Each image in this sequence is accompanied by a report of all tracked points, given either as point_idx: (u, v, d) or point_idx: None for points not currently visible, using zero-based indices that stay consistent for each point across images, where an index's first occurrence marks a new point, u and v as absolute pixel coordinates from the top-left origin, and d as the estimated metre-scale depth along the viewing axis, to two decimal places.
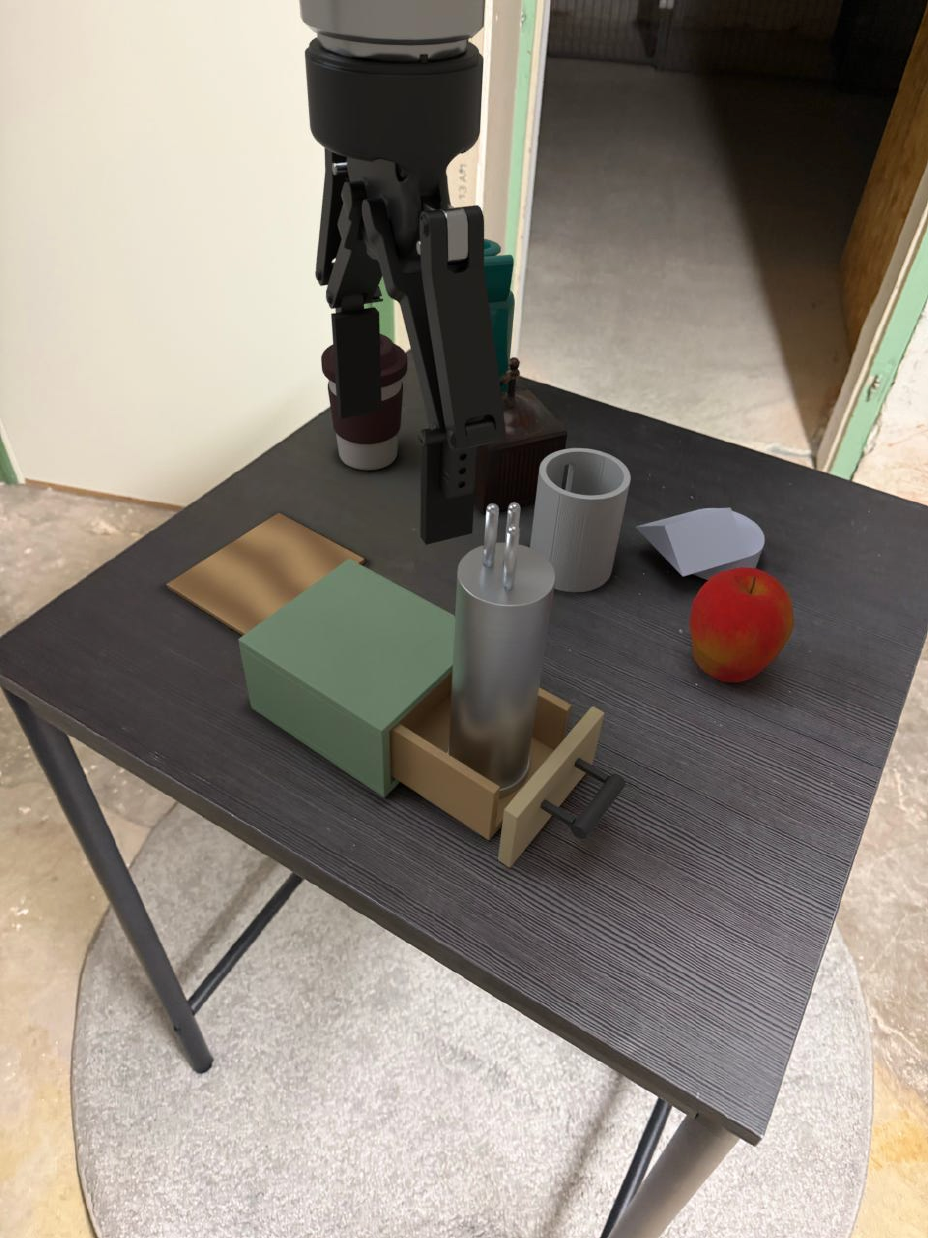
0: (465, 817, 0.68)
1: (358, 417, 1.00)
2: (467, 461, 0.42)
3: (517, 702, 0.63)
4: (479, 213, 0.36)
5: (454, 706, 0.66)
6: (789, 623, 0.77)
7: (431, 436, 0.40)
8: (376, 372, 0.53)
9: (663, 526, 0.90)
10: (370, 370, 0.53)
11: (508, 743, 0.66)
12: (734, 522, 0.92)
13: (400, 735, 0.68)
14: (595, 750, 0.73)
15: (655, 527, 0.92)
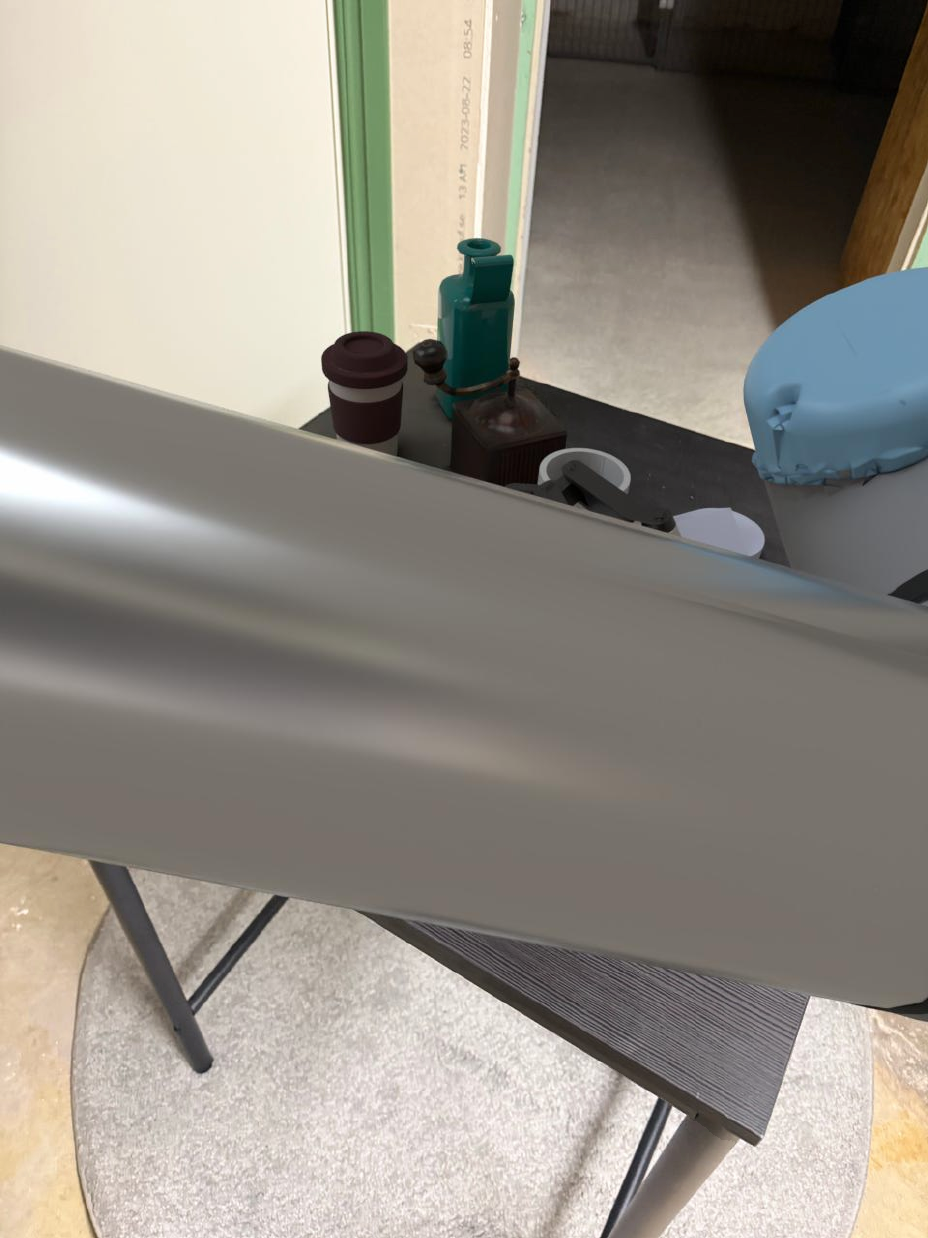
0: None
1: (358, 417, 1.00)
2: None
3: None
4: None
5: None
6: None
7: None
8: None
9: None
10: None
11: None
12: (734, 522, 0.92)
13: None
14: None
15: None
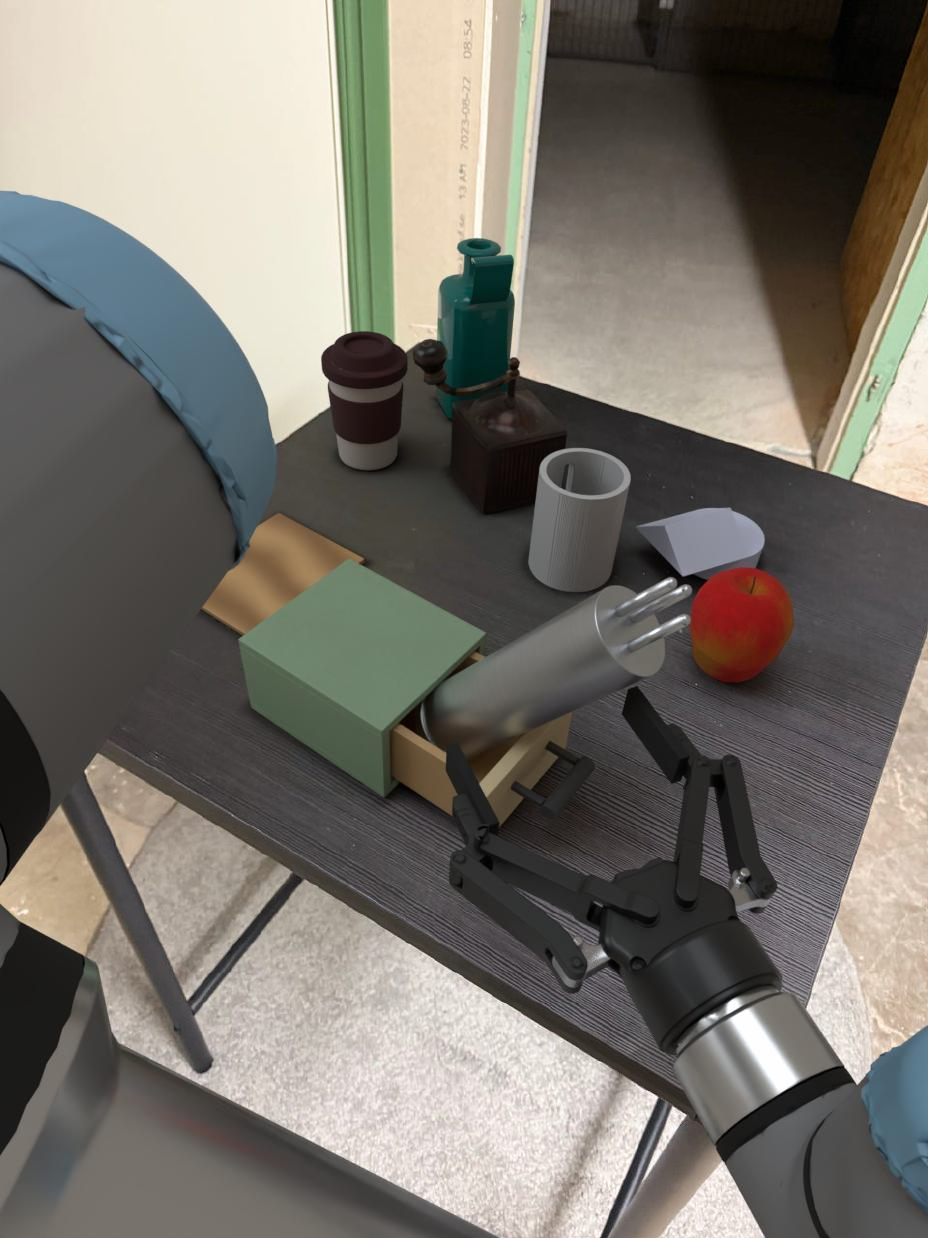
0: (438, 799, 0.69)
1: (358, 417, 1.00)
2: (462, 833, 0.53)
3: (547, 721, 0.64)
4: (568, 991, 0.47)
5: (480, 688, 0.65)
6: (789, 623, 0.77)
7: (476, 840, 0.51)
8: (642, 739, 0.60)
9: (663, 526, 0.90)
10: (644, 738, 0.60)
11: (504, 739, 0.67)
12: (734, 522, 0.92)
13: None
14: (567, 734, 0.74)
15: (655, 527, 0.92)
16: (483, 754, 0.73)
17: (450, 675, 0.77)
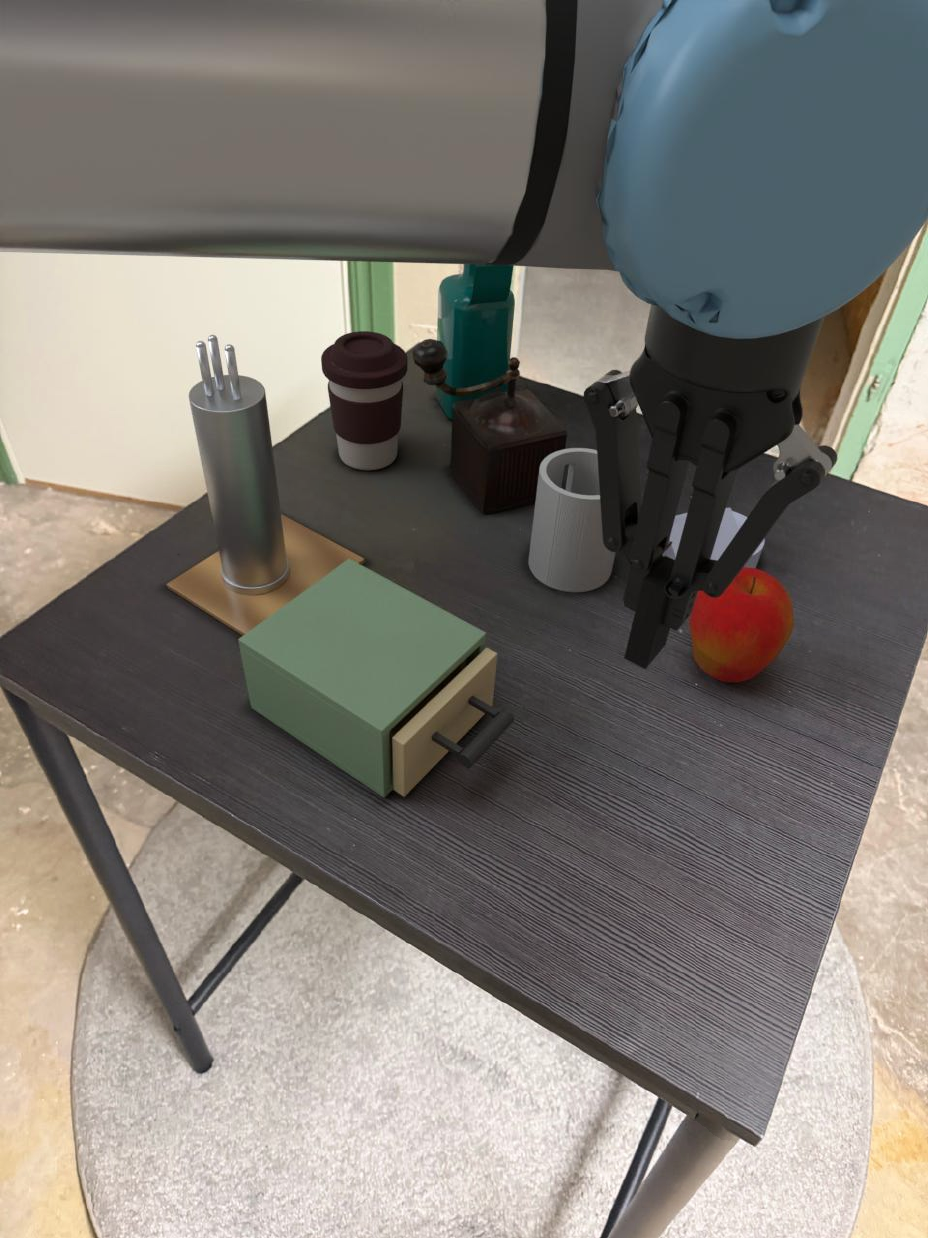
0: None
1: (358, 417, 1.00)
2: (694, 597, 0.50)
3: (273, 489, 0.83)
4: (835, 461, 0.41)
5: (228, 525, 0.83)
6: (789, 623, 0.77)
7: None
8: None
9: None
10: None
11: (277, 530, 0.86)
12: (734, 522, 0.92)
13: None
14: (493, 691, 0.77)
15: None
16: (411, 710, 0.76)
17: None
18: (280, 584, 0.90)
